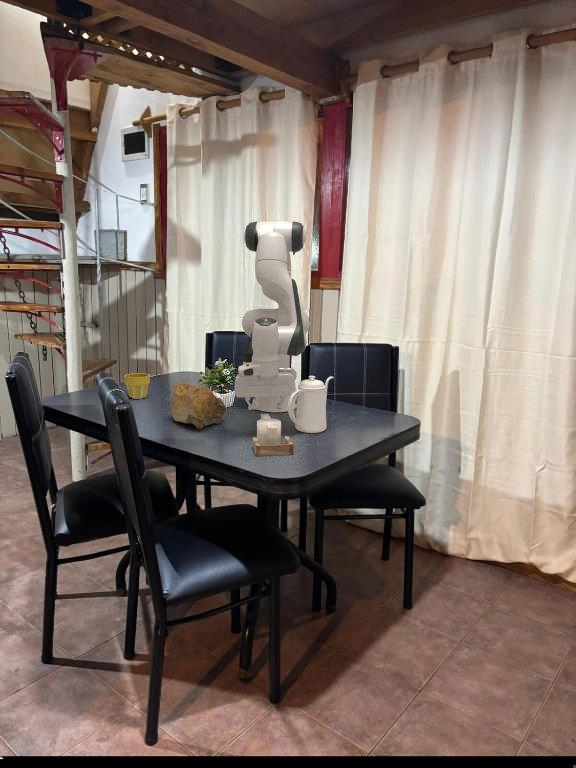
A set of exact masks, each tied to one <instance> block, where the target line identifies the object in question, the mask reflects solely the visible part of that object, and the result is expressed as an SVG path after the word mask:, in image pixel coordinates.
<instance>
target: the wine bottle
mask: <svg viewBox="0 0 576 768" xmlns="http://www.w3.org/2000/svg"><path fill="white" fill-rule="evenodd" d="M247 337H248V342H247V345H246V347H245V349H244V350H243V352H242V365H245V364H248V363H251V362H252V356H253V350H252V348H251V347H250V337H249V336H247Z"/></svg>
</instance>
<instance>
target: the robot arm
mask: <svg viewBox="0 0 576 768" xmlns="http://www.w3.org/2000/svg"><path fill="white" fill-rule="evenodd" d="M243 240H244V243H245V246H246V249H248V250H249V251H250V252H255V260H254V261H255V262H254V274H255V280H256V281H257V283H258V284H259V285H260V286H261V291H262V294H263V295H264V296H265V297H266V298H268V299H270V300H271V301H273V302H275V303H276V304H277V308H256V309H250V310H247V311H246V312H245V313H244V315H243V317H242V319H241V326H242V329H243V331H244V333H245V334H246V335H247V337H250V347H251V348H252V350H253V356H252V362H251V363H248V364H245V365H243V364H242V365H239V366H238V368H237V369H238V370H237V371H238V374H237V375H236V377H235V380H234V390H233V392H234V396H235V397H236V398H244V399H245V401H246V403H247V405H248V409H247V410H248V411H254V410H257V411H261V412H266V413H267V412H268V413H284V412H288V401H289V398H290V396H291V395H292V393H293V392H296V391H297V387H296V380H297V377H298V376H297V374H298V373H297V371H296V370H295V369H293V368H292V367H290V364H291V363H290V361H291V360H290V358H291V356H293V357H297V356H298V357H299V356H300V355H301V354H303V353H304V352H305V351H306V347H307V341H308V340H307V339H308V338H307V333H308V331H309V329H310V325H311V324H310V322H311V320H310V318H309V315H308V314H307V312H306V311H304V310H303V309H302V308H301V301H300V295H299V291H298V290H299V288H298V285H297V282H296V280H295V279H294V278H292V258H291V252H292V256H295V254H296V253H298V252H300V251H302V249H303V248H304V245H305V243H306V240H307V232H306V230H305V228H304V225H303V223H301V222H298V221H293V220H292V221H288V220H267V221H266V220H265V221H257V220H256V221H252V222H248V223H247V225H246V227H245V230H244V233H243ZM251 398H253V400H252V403H251V402H250V400H251ZM291 403H292V402H291ZM295 409H297V403H295V404H294V410H295Z"/></svg>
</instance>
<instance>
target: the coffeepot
mask: <svg viewBox="0 0 576 768" xmlns="http://www.w3.org/2000/svg"><path fill="white" fill-rule="evenodd" d="M334 378H335V377H334V376H331V375H330V376H329V377H328V378H327V379H326V380H325V383H324V382H323V381H322V380H319V379H316V376H314V375H309V376H308V379H303V380H301V381H300V382H299V384H298V385H297V388H298V389H296V392H293V393H292V395H291V396H290V398H289V401H288V411H287V412H288V416H289V419H290V420H291V421H292V422H293V423H294V428H295V429H296V431H298V432H302V433H305V434H318V433H322V432H324V431H326V430H327V409H326V408H327V395H328V385H329V381H330V380H331V379H334ZM291 402H292V403H291ZM294 404H297V408H296V411H295V409H294ZM295 412H296V413H295Z"/></svg>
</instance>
